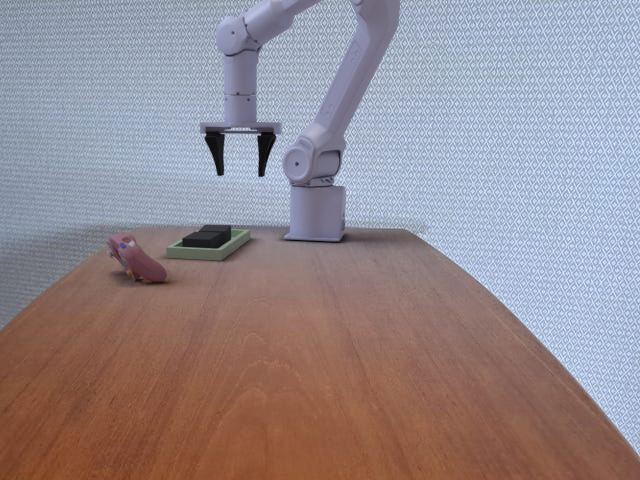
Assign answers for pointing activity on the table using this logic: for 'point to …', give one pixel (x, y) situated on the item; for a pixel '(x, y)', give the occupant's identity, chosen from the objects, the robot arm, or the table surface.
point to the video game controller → (134, 258)
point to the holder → (208, 253)
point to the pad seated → (202, 240)
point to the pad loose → (219, 231)
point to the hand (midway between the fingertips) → (240, 176)
